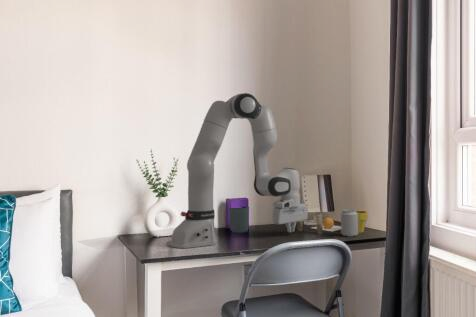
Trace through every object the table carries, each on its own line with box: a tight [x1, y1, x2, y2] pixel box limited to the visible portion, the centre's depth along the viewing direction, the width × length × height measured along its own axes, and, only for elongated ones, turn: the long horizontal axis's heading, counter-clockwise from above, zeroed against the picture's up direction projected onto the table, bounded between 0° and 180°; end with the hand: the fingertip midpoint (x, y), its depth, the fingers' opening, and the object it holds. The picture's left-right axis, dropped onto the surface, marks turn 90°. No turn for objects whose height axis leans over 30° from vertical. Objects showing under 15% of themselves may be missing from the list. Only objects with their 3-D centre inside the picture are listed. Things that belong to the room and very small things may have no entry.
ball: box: [322, 217, 335, 229], centre depth 236 cm, size 6×6×6 cm
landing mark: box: [310, 225, 341, 232], centre depth 237 cm, size 14×14×1 cm
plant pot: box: [355, 209, 369, 234], centre depth 226 cm, size 10×10×10 cm
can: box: [340, 208, 359, 238], centre depth 216 cm, size 8×8×12 cm
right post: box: [316, 213, 323, 235], centre depth 223 cm, size 3×3×9 cm
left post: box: [296, 221, 304, 232], centre depth 232 cm, size 3×3×9 cm
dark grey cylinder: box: [228, 205, 250, 233], centre depth 234 cm, size 10×10×12 cm
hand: (290, 231), depth 219 cm, fingers closed
